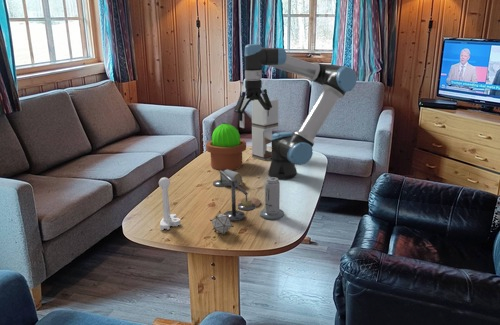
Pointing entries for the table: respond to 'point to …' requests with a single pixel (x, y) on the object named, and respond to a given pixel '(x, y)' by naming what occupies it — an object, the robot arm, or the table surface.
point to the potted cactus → (226, 148)
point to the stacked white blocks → (263, 129)
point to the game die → (221, 223)
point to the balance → (245, 203)
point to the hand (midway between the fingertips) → (253, 125)
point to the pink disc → (254, 201)
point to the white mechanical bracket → (167, 207)
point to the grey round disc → (272, 217)
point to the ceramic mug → (233, 176)
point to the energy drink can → (272, 195)
